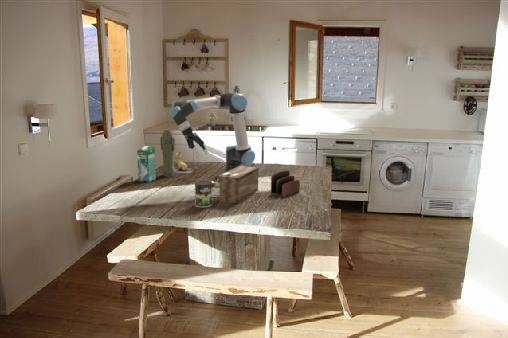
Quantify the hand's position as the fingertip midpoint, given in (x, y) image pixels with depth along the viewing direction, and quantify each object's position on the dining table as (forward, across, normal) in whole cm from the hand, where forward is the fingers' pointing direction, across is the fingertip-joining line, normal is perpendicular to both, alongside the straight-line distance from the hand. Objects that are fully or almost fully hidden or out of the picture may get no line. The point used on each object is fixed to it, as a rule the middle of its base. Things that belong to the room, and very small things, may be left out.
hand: (202, 154), depth 312 cm
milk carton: (-1, -50, -27) cm, 56 cm away
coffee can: (+21, +25, -29) cm, 44 cm away
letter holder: (+50, +27, +24) cm, 62 cm away
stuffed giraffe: (+12, -66, +6) cm, 67 cm away
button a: (+22, +18, -10) cm, 30 cm away
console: (+33, +17, -1) cm, 37 cm away
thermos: (+7, -55, -9) cm, 56 cm away
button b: (+24, +12, -2) cm, 27 cm away
